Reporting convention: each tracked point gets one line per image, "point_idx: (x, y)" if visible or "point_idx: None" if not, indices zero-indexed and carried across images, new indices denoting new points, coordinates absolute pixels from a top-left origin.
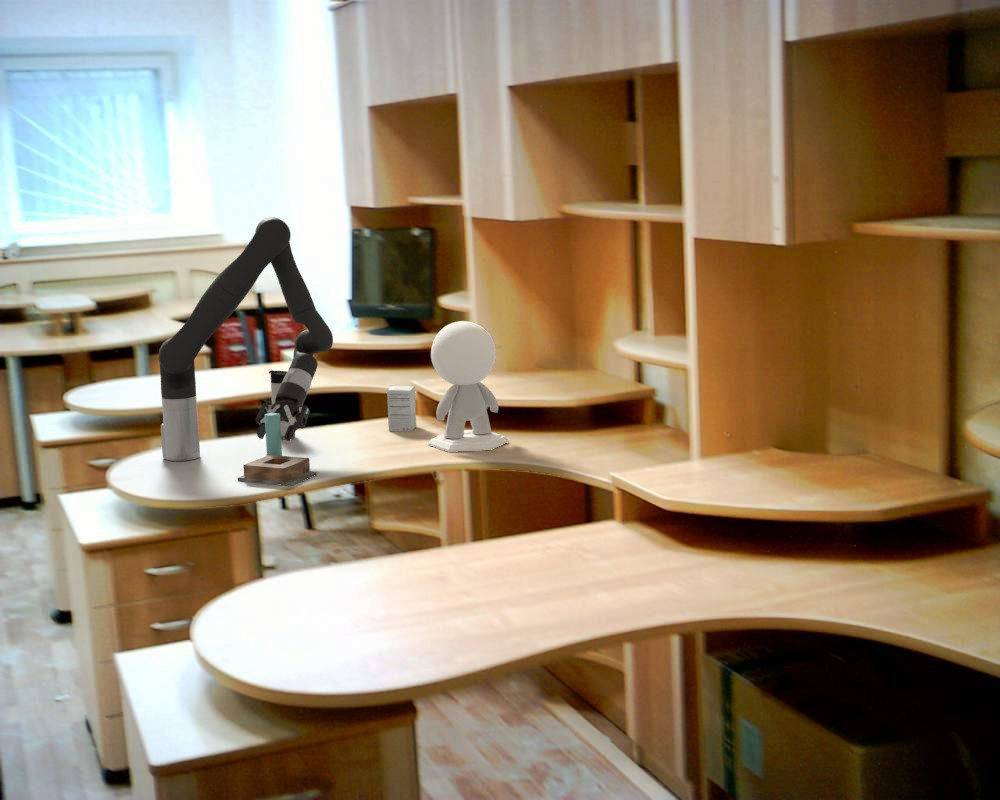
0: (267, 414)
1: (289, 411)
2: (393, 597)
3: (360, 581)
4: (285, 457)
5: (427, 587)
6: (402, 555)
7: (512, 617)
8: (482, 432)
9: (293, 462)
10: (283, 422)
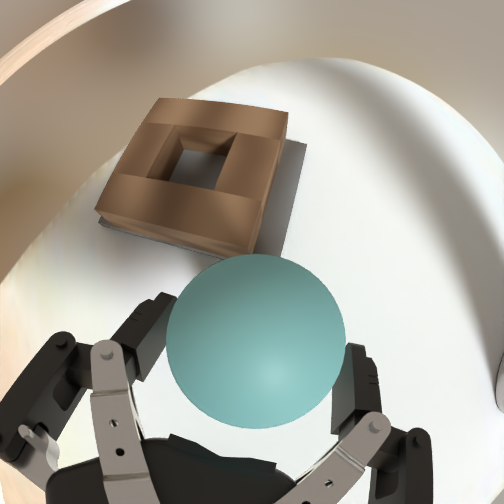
0: (318, 346)
1: (103, 450)
2: (99, 3)
3: (110, 3)
4: (171, 208)
5: (81, 13)
6: (76, 27)
7: (63, 16)
8: None
9: (136, 150)
10: None
